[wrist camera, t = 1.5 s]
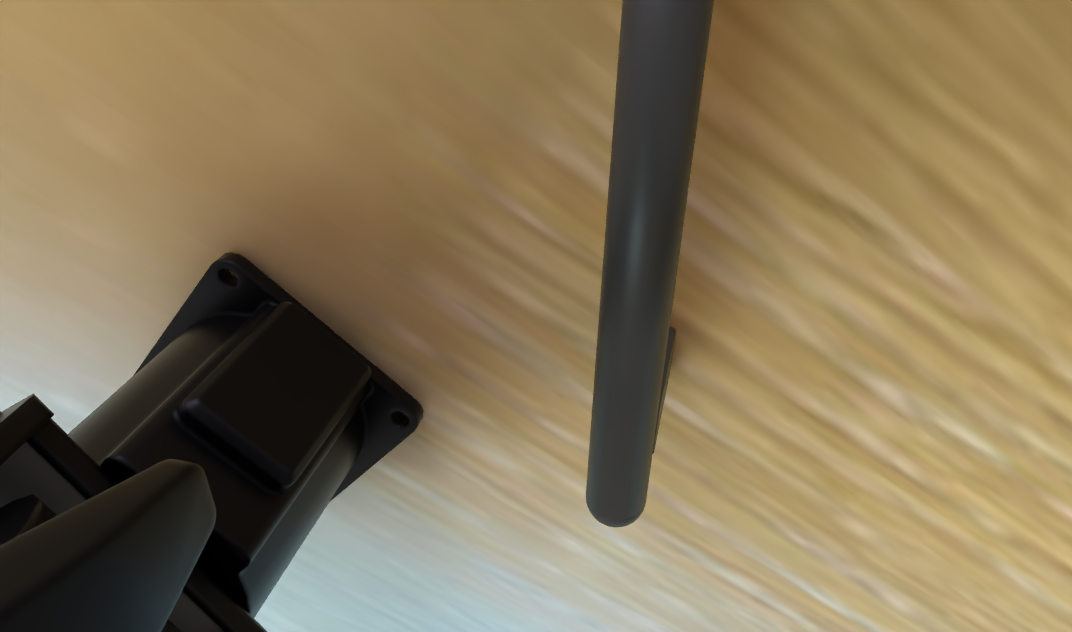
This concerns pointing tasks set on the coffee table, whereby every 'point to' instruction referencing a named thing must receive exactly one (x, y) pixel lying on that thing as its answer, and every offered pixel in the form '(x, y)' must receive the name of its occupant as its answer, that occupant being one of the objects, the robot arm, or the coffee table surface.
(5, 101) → the coffee table surface
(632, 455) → the ladle
